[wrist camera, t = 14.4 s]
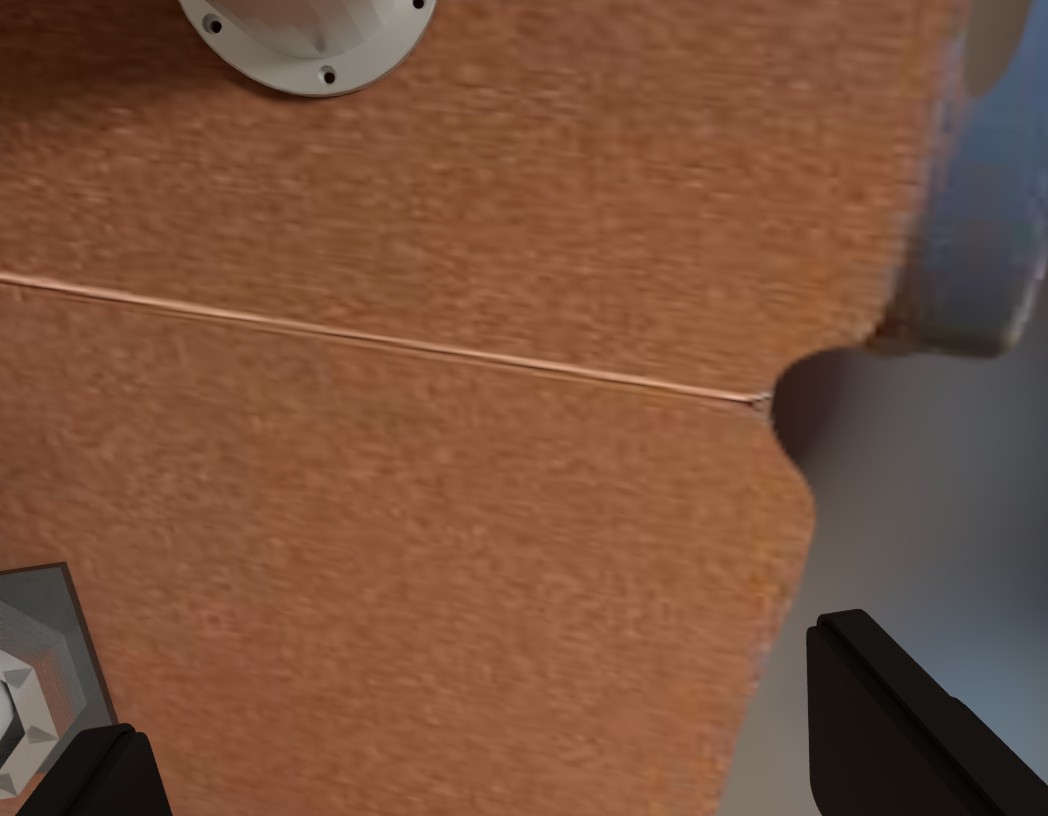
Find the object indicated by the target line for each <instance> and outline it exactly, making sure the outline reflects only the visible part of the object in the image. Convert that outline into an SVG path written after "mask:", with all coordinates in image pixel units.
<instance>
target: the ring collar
mask: <svg viewBox="0 0 1048 816" xmlns="http://www.w3.org/2000/svg"><path fill="white" fill-rule="evenodd" d="M0 679H1V680H2V681H4V682H6V683H7V684H8V687H9V690H10V693H11V695H12V698H13V701H14V703H15V706H16V711H15V715H14V718H13V719H12V721H11V723H10V725H9V727H8V729H7V730H6V732H5V734H4V736H3V737H2V739H1V740H0V799H6V798H12V797H18V796H19V795H20V793H21V792H22V791H23V789H24V788H25V787H26V786H27V784H28V783H29V782H30V780H31V779H32V778H33V777H34V775H35V774H39V773H46V772H49V770H50V769H51V768H52V766H53V765H54V764H55V762H56V761H57V760H58V758H59V757H60V756H61V754H62V753H63V752H64V750H65V749H66V748H67V746H68V745H69V744H70V743H71V741H72V740H73V739H74V737H75V736H76V735H77V734H78V733H79V732H80V731H83V730H85V729H90V728H96V727H103V726H109V725H116V724H119V723H118V720H117V716H116V713H115V710H114V707H113V704H112V701H111V698H110V695H109V692H108V689H107V686H106V683H105V680H104V677H103V674H102V670H101V667H100V664H99V661H98V658H97V655H96V652H95V649H94V646H93V643H92V640H91V637H90V634H89V631H88V628H87V625H86V621H85V618H84V615H83V612H82V609H81V606H80V603H79V600H78V597H77V594H76V591H75V588H74V585H73V582H72V579H71V575H70V572H69V569H68V566H67V563H66V562H61V563H54V564H47V565H40V566H33V567H27V568H20V569H13V570H6V571H0Z"/></svg>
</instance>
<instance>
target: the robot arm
mask: <svg viewBox="0 0 1048 816" xmlns="http://www.w3.org/2000/svg"><path fill="white" fill-rule="evenodd" d="M178 1H179V3H180V5H181V7H182V9H183V11H184V13H185V15H186V17H187V18H188V20H189V21H190V22H191V24H192V25H193V26H194V28H195V29H196V30H197V32H198V33H199V34H200V36H201V37H202V39H203V40H204V41H205V42H206V43H207V44H208V45H209V46H210V47H211V48H212V49H213V50H214V51H215V52H216V53H217V54H218V55H219V56H220V57H221V58H222V59H223V60H225V61H226V62H227V63H228V64H230V65H231V66H233V67H234V68H236V69H237V70H238V71H240V72H241V73H243V74H245V75H246V76H248V77H250V78H251V79H253V80H255V81H257V82H259V83H261V84H263V85H264V86H267V87H270V88H273V89H276V90H279V91H282V92H285V93H288V94H292V95H300V96H308V97H329V96H341V95H344V94H348V93H351V92H355V91H358V90H362V89H364V88H366V87H368V86H370V85H372V84H374V83H376V82H378V81H379V80H381V79H383V78H385V77H386V76H387V75H389V74H390V73H391V72H392V71H393V70H395V69H396V68H397V67H398V66H400V65H401V64H402V63H403V62H404V61H405V60H406V59H407V57H408V56H409V55H410V54H411V52H412V51H413V50H414V49H415V47H416V46H417V45H418V44H419V42H420V41H421V39H422V37H423V35H424V33H425V31H426V29H427V27H428V26H429V24H430V22H431V20H432V17H433V14H434V11H435V8H436V4H437V1H438V0H422V1H423V2H424V6H423V7H422V8H421V9H416V8H415V7H414V6H413V3H414V1H415V0H178ZM217 23H221V25H222V29H221V30H220V32H219V33H215V32H214V30H213V29H214V25H215V24H217ZM329 73H331V74H334V76H335V80H334V82H333V83H331V84H329V83H326V80H325V77H326V75H327V74H329ZM806 646H807V686H808V726H809V763H810V785H811V790H812V793H813V797H814V800H815V802H816V805H817V807H818V809H819V811H820V813H821V814H822V816H1048V785H1046V783H1045V782H1043V781H1042V780H1041V779H1040V778H1039V777H1038V776H1037V775H1036V774H1035V773H1034V772H1033V771H1032V770H1031V769H1030V768H1029V767H1028V766H1027V765H1026V764H1025V763H1024V762H1023V761H1022V760H1021V759H1020V758H1019V757H1018V756H1017V755H1016V754H1015V753H1014V752H1013V751H1012V750H1011V749H1010V748H1009V747H1008V746H1007V745H1006V744H1005V743H1004V742H1003V741H1002V740H1001V739H1000V738H999V737H998V736H997V735H996V734H995V733H993V731H992V730H991V729H990V728H989V727H987V726H986V725H985V724H984V723H983V722H982V721H981V720H980V719H979V718H978V717H977V716H976V715H975V714H974V713H973V712H972V711H971V710H970V709H969V708H968V707H967V706H966V705H965V704H963V703H962V702H961V701H960V700H958V699H957V698H954V697H951V696H950V695H949V694H948V693H947V692H946V691H944V689H943V688H941V686H940V685H939V684H938V683H936V681H934V679H933V678H932V677H931V676H930V675H929V674H927V673H926V671H925V670H923V668H922V667H921V666H919V664H918V663H916V662H915V661H914V660H913V659H912V658H911V657H910V656H909V655H908V654H907V653H906V652H905V651H904V650H903V649H902V648H901V647H900V646H899V645H898V644H897V643H896V642H895V641H894V640H893V639H892V638H891V637H890V636H889V635H888V634H887V633H886V632H885V631H884V630H883V629H882V628H881V627H880V626H879V625H878V624H877V623H876V622H875V621H874V620H873V619H872V618H871V617H870V616H869V615H868V614H867V613H866V612H865V611H863V610H862V609H853V610H846V611H840V612H834V613H828V614H822V615H820V616H819V617H818V620H817V625H816V626H813V627H809V628H808V630H807V635H806ZM15 816H173V815H172V812H171V809H170V806H169V803H168V799H167V796H166V793H165V790H164V787H163V783H162V780H161V777H160V774H159V771H158V768H157V764H156V761H155V758H154V755H153V752H152V749H151V745H150V742H149V740H148V737H147V735H145V734H144V733H143V732H136V731H135V729H134V728H133V727H132V726H131V725H130V724H127V723H122V724H116V725H109V726H103V727H96V728H90V729H85V730H83V731H80V732H79V733H78V734H77V735H76V736H75V737H74V739H73V740H72V741H71V743H70V744H69V745H68V746H67V748H66V749H65V750H64V752H63V753H62V754H61V756H60V757H59V758H58V760H57V761H56V762H55V764H54V765H53V766H52V768H51V769H50V770H49V772H48V773H47V774H46V776H45V777H44V778H43V780H42V781H41V782H40V783H39V785H38V786H37V787H36V789H35V790H34V791H33V793H32V794H31V795H30V797H29V798H28V799H27V801H26V802H25V803H24V805H23V806H22V807H21V809H20V810H19V811H18V813H17V814H16V815H15Z"/></svg>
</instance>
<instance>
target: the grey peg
mask: <svg viewBox="0 0 1048 816" xmlns="http://www.w3.org/2000/svg"><path fill="white" fill-rule="evenodd" d="M15 711H16V706H15V703H14V701H13V698H12V695H11V693H10V690H9V687H8V684H7V683H6V682H4V681H2V680H1V679H0V740H1V739H2V737H3V736H4V734H5V732H6V730H7V729H8V727H9V725H10V723H11V721H12V719H13V718H14V715H15Z"/></svg>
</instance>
